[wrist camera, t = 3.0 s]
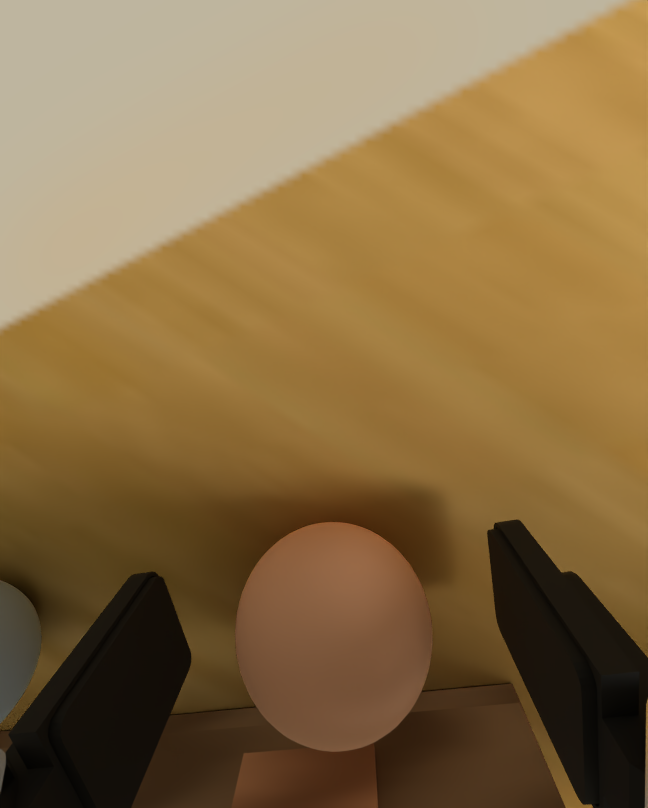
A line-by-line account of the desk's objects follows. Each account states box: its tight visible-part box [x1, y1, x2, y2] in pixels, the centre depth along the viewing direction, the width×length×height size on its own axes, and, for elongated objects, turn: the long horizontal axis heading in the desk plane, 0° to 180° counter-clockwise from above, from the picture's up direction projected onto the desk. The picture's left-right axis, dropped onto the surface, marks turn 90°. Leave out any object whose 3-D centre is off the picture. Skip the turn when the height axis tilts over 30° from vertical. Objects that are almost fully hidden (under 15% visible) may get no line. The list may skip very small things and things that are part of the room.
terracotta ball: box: [235, 522, 433, 752], centre depth 9 cm, size 5×5×5 cm
